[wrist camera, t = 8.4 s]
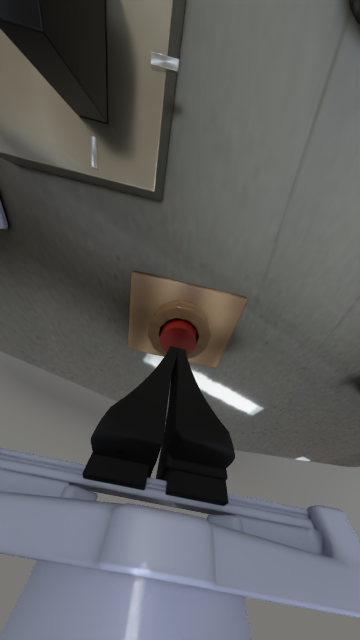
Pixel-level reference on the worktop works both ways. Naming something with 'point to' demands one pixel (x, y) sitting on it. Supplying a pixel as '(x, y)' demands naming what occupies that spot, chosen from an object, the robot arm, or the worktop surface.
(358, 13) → the salt shaker
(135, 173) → the panel
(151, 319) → the button block
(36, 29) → the knob
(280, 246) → the worktop surface
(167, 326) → the button
